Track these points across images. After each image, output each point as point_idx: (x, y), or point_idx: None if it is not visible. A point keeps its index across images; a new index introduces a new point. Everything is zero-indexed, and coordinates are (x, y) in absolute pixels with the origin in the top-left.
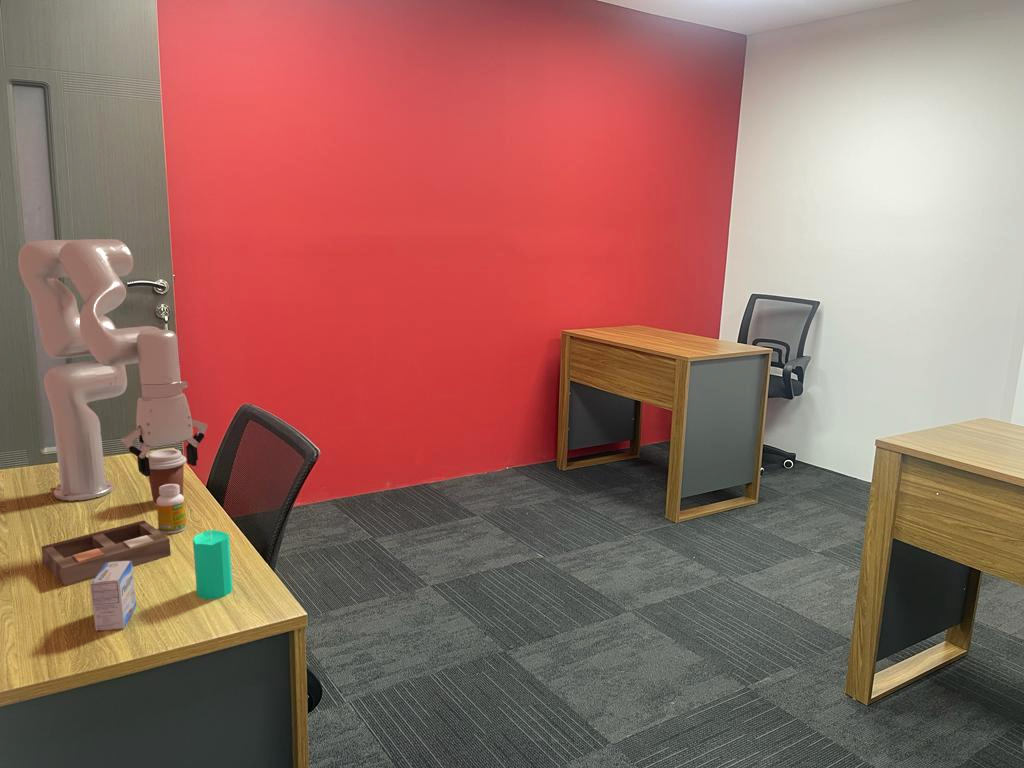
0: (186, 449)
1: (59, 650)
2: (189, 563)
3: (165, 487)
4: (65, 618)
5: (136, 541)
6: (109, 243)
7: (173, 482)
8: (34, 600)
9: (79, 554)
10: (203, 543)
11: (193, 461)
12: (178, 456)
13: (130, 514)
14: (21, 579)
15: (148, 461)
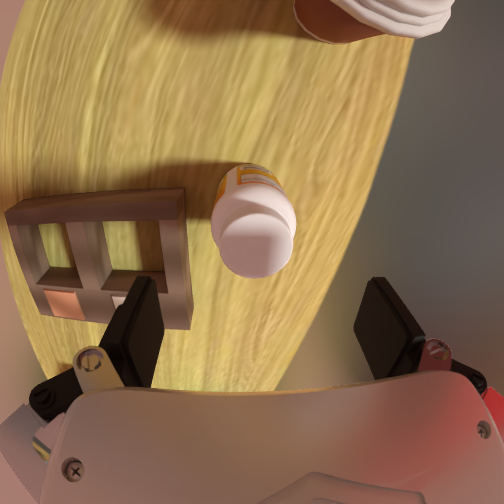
0: (398, 330)
1: None
2: (207, 344)
3: (242, 246)
4: (66, 356)
5: None
6: None
7: (358, 33)
8: (32, 305)
9: (51, 295)
10: None
11: (360, 343)
12: (434, 14)
13: (215, 21)
14: (9, 237)
15: (149, 380)
